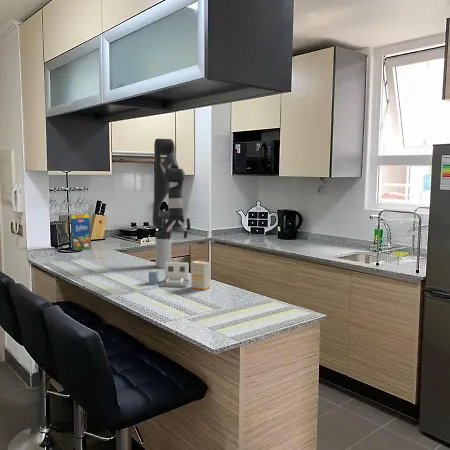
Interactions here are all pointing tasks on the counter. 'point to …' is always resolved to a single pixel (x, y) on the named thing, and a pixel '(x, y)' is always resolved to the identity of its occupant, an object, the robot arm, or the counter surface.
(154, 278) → the block
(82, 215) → the blue food package
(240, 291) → the counter surface
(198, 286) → the supplement box
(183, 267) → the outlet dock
